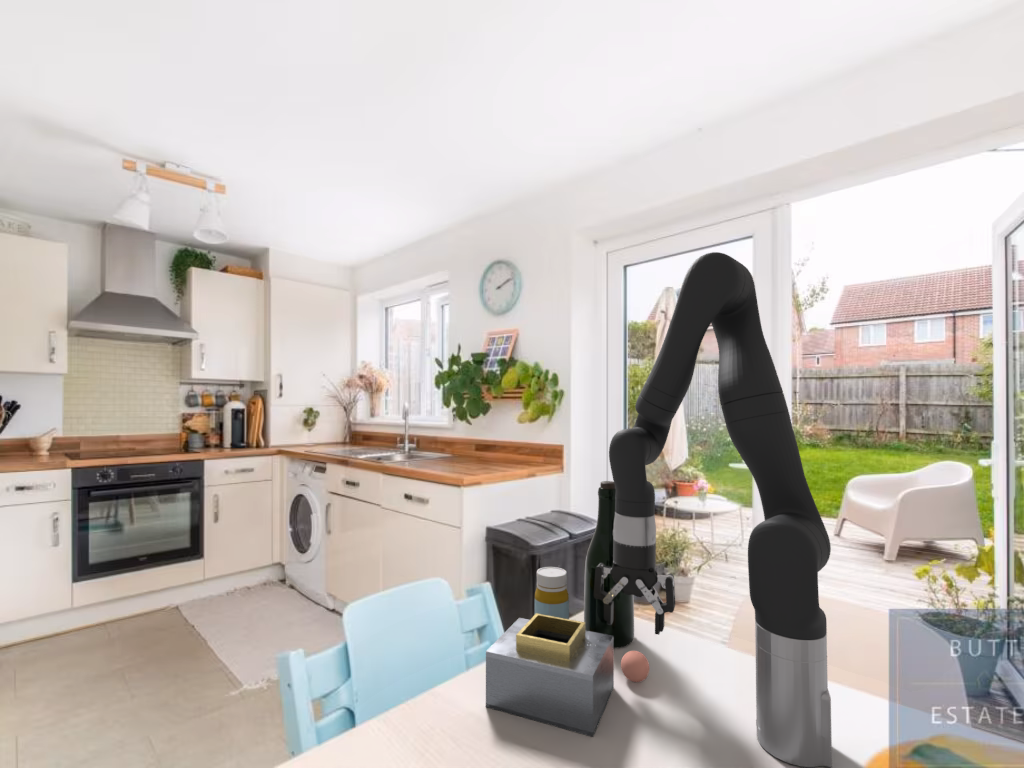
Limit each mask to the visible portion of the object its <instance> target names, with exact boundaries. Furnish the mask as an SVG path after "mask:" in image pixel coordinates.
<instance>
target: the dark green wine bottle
mask: <svg viewBox="0 0 1024 768" xmlns="http://www.w3.org/2000/svg"><path fill="white" fill-rule="evenodd" d="M599 485H600V487H598V490H597V496H598V498H597V499H598V504H597V505H598V506H597V509H598V510H597V518H596V519H597V520H596V527H595V530H594V533H593V535H592V538H591V541H590V543H589V545H588V546H589V547H588V549H587V551H586V552H587V553H586V557H585V562H584V563H585V564H584V565H585V566H584V584H583V585H584V588H583V589H584V590H583V593H584V594H583V595H584V596H583V602H584V603H583V622H585V630H586V631H591V632H596V633H601V634H606V635H612V636H613V647H614V649H621V648H625V647H627V646H629V645H631V644H632V643H633V642H634V639H635V606H634V605H635V602H634V600H635V599H634V597H635V595H625V594H624V593H623V592H622V591H620V592H619V593H618V594H617V595H616V596H615V597H614V598H613V599H612V601H614V608H613V623H612V624H611V625H608V624H607V621H605V620H604V603H603V601H602V600H600V599H595V598H594V583H595V569H596V567H597V566H598V565H599V564H600V563H603V564H604V565H605V566H609V567H612V566H613V529H614V518H615V494H616V488H615V484H614V480H612V481H611V480H603V481H601V482H600V483H599ZM615 584H616V583H615V581H614V579H613V578H612V576H611V574H610V573H609V574H608V575H607V577H606V578H604V587H603V591H605V592H607V593H608V592H609V591H610V590H611V588H612V587H613V586H614V585H615Z"/></svg>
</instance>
